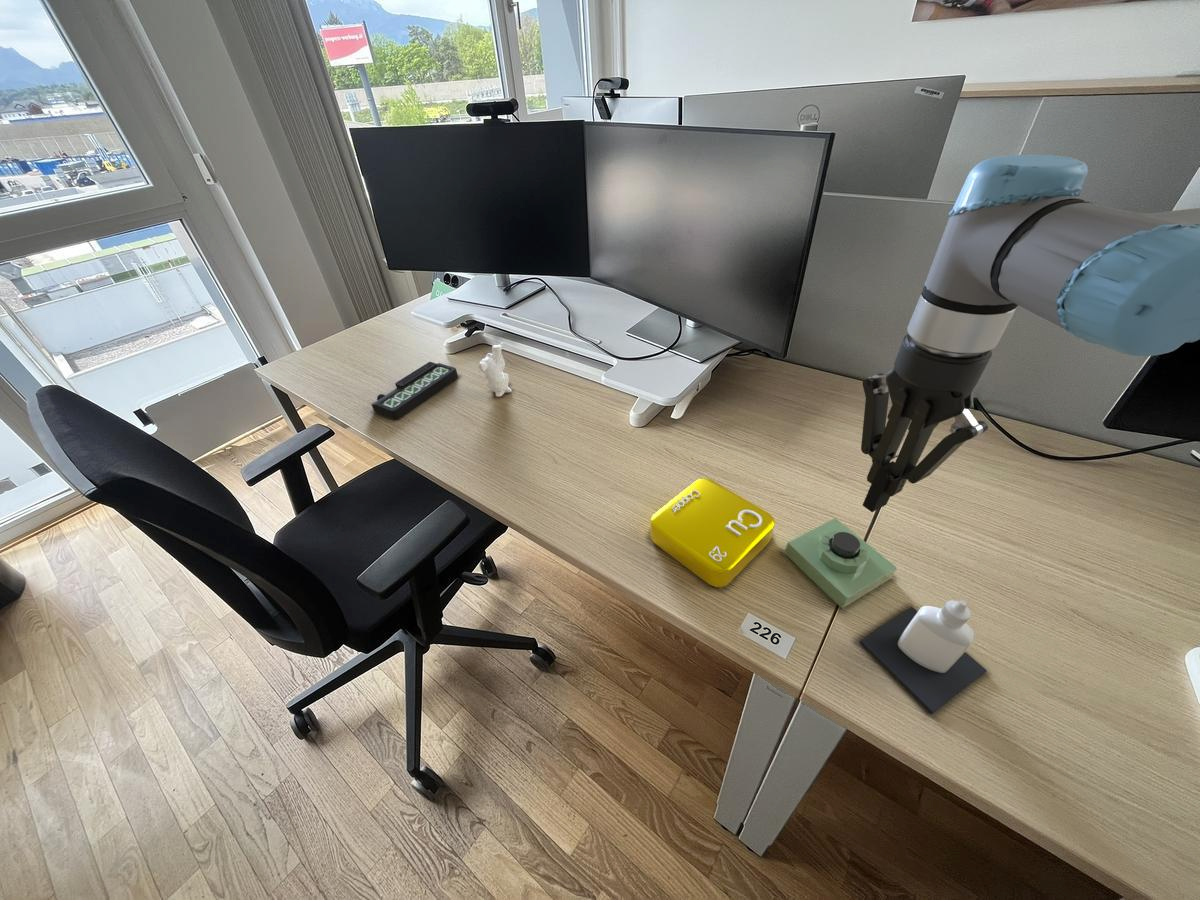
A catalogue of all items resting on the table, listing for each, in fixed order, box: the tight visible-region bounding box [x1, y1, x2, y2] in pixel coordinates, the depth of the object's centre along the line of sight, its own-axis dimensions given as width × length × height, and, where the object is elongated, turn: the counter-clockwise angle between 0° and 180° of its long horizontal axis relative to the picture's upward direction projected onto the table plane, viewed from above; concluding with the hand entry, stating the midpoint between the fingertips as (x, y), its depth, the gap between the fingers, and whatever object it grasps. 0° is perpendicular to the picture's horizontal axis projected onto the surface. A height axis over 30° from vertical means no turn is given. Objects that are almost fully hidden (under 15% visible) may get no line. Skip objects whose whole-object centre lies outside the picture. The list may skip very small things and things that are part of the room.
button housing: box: [784, 517, 898, 609], centre depth 69 cm, size 11×10×4 cm
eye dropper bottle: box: [898, 599, 975, 673], centre depth 55 cm, size 4×6×12 cm
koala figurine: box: [477, 342, 512, 398], centre depth 110 cm, size 8×7×12 cm
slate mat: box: [859, 606, 988, 715], centre depth 59 cm, size 10×10×1 cm
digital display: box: [371, 361, 459, 421], centre depth 116 cm, size 21×3×10 cm
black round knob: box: [830, 532, 860, 559], centre depth 67 cm, size 4×4×2 cm
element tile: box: [650, 477, 776, 588], centre depth 74 cm, size 15×15×5 cm
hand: (874, 504), depth 61 cm, fingers closed
